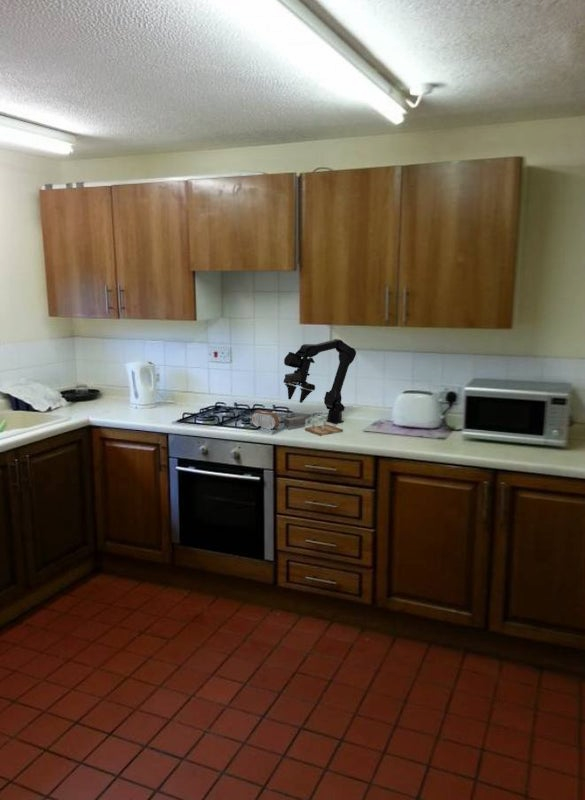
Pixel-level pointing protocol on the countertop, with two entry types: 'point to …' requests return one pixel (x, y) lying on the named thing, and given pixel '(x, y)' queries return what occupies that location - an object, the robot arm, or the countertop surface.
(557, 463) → the countertop surface
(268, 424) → the tin
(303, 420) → the drive
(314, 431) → the pin tray
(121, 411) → the countertop surface
